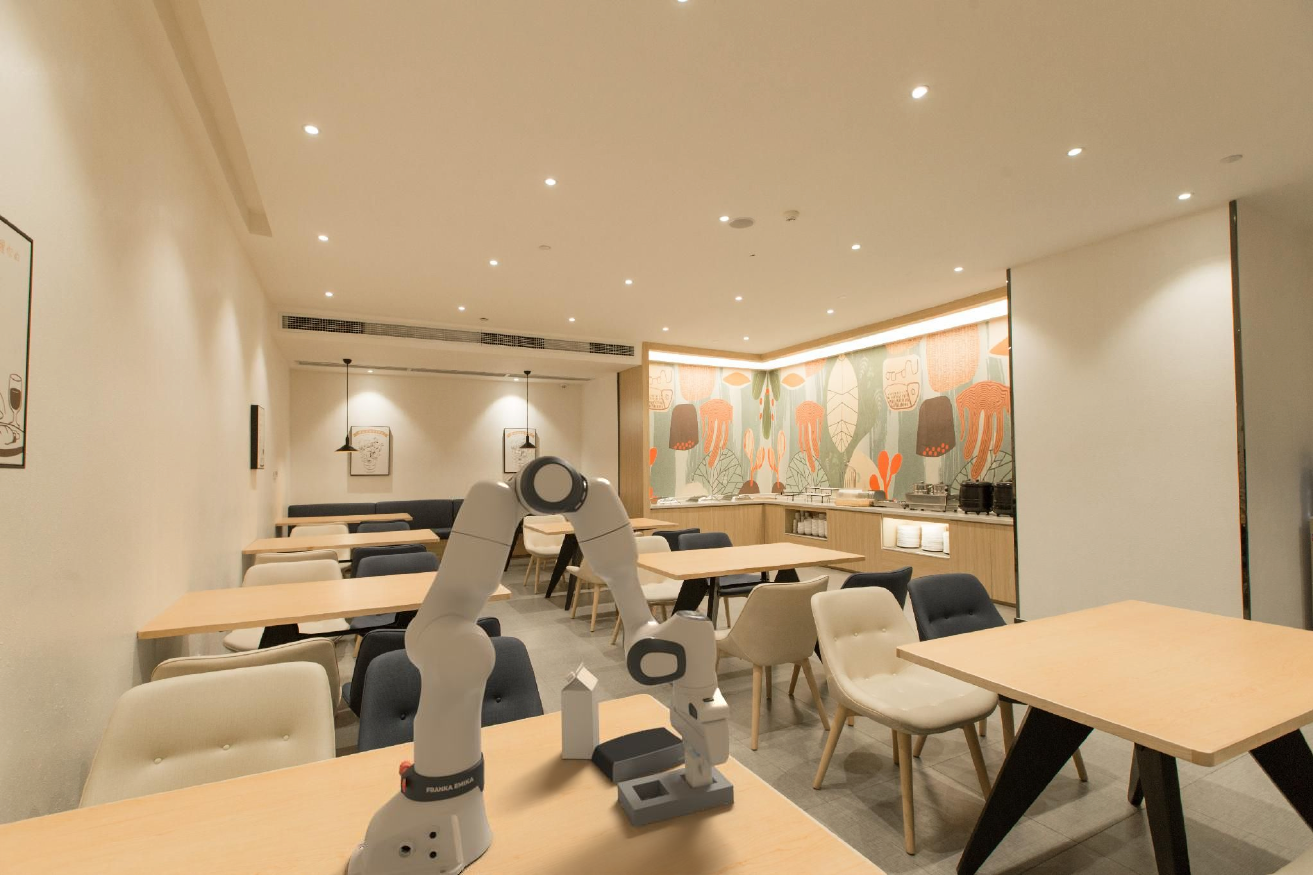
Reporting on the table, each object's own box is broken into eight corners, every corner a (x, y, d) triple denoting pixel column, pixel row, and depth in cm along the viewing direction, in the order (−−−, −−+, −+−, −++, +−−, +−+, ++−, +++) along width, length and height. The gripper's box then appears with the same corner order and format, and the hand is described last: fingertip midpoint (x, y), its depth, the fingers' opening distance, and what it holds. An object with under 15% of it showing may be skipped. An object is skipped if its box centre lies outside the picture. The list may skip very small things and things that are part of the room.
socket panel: (634, 827, 104) (634, 810, 104) (617, 798, 113) (617, 783, 114) (733, 801, 111) (733, 785, 112) (710, 776, 121) (710, 761, 121)
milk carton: (599, 745, 136) (597, 662, 137) (593, 760, 129) (591, 672, 130) (569, 744, 137) (568, 662, 138) (561, 759, 130) (560, 672, 131)
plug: (694, 802, 112) (692, 753, 112) (685, 792, 115) (684, 745, 116) (713, 797, 113) (711, 749, 113) (704, 787, 117) (702, 741, 117)
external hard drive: (694, 762, 128) (693, 743, 128) (614, 787, 119) (613, 767, 119) (664, 739, 139) (664, 721, 140) (589, 761, 130) (588, 742, 130)
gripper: (661, 680, 124) (663, 748, 123) (703, 717, 105) (705, 797, 104) (688, 676, 126) (690, 742, 125) (734, 711, 107) (737, 789, 106)
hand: (697, 767), depth 114 cm, fingers open, 5 cm apart
